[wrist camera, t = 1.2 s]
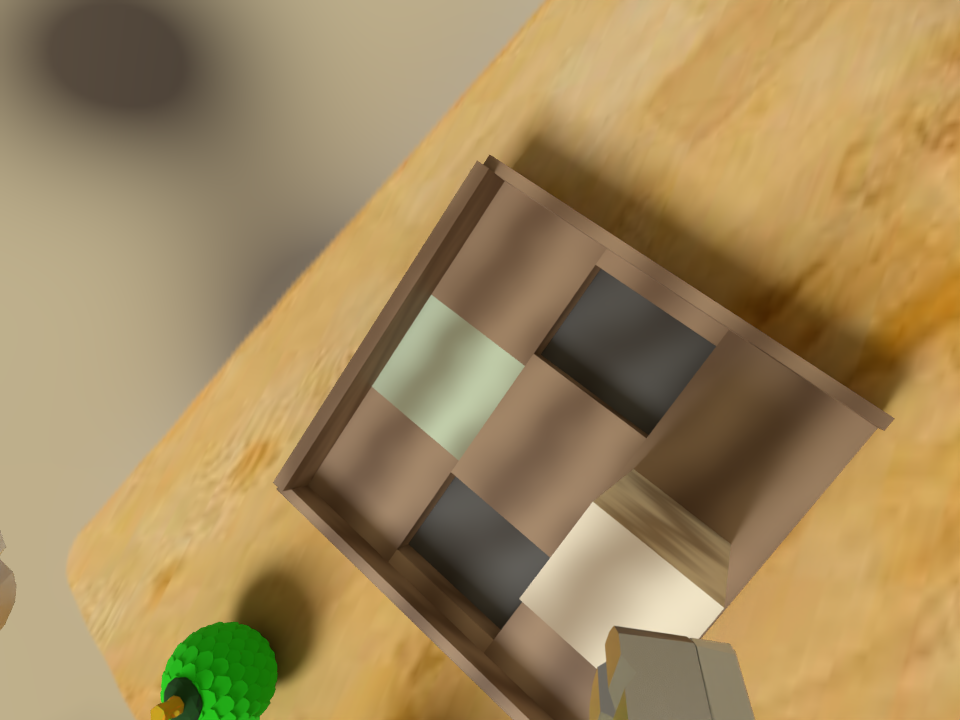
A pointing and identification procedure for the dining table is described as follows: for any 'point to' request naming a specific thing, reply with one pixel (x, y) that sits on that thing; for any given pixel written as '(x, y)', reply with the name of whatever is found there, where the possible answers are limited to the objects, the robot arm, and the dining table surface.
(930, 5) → the dining table surface
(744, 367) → the tray
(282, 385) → the dining table surface
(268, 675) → the ornament
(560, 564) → the birch block
